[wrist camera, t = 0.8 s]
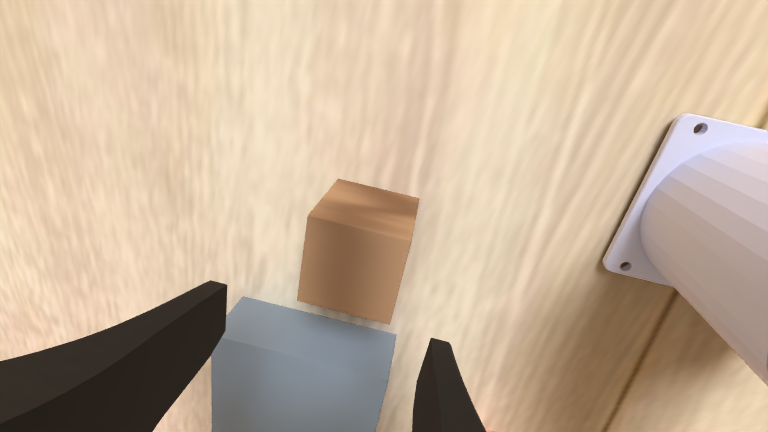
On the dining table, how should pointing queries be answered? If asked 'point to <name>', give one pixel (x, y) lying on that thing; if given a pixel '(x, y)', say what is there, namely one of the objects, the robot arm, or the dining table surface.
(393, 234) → the walnut block
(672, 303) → the dining table surface
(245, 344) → the base block
